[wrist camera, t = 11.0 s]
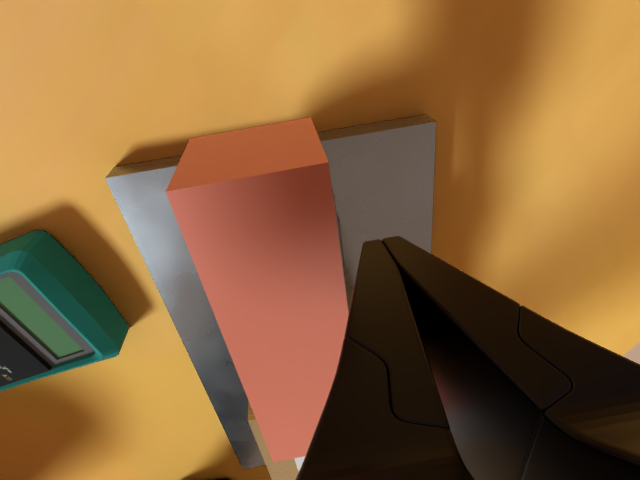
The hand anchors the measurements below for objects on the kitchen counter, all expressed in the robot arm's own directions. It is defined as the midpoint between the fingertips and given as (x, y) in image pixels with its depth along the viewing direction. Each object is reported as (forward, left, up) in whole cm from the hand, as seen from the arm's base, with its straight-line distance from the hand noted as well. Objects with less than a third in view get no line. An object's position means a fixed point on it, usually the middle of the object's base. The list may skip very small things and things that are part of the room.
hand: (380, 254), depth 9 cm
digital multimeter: (-7, +20, -11) cm, 24 cm away
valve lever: (-5, +2, -2) cm, 6 cm away
